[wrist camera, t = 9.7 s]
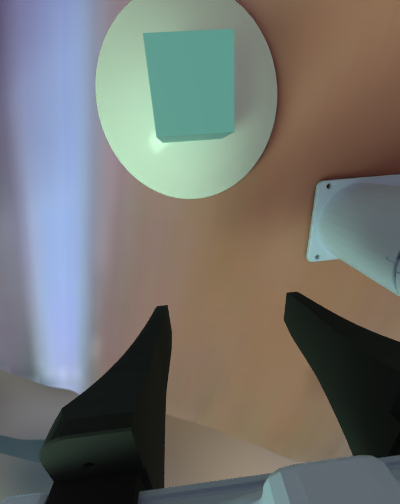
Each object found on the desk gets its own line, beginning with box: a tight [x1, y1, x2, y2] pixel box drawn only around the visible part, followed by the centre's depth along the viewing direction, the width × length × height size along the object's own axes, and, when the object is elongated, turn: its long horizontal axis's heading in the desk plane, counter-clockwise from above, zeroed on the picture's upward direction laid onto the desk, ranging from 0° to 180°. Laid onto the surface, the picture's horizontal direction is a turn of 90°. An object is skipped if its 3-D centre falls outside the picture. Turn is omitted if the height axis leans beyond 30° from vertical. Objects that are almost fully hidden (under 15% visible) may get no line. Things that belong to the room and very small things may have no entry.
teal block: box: [143, 29, 235, 143], centre depth 14 cm, size 4×4×4 cm
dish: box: [96, 0, 277, 199], centre depth 16 cm, size 13×13×1 cm
